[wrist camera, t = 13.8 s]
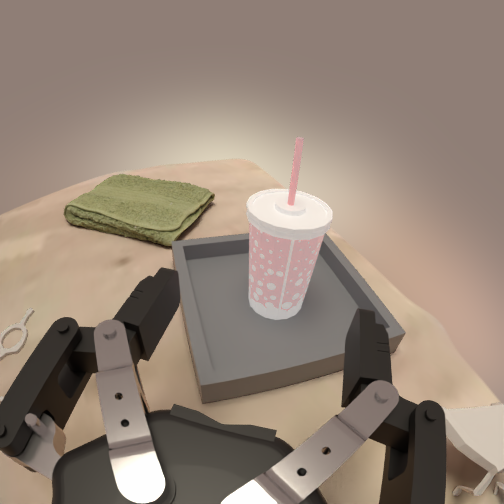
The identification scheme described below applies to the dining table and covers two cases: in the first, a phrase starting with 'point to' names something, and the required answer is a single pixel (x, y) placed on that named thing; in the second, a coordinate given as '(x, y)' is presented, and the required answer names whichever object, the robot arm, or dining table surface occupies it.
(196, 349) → the grey tray
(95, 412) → the dining table surface
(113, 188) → the washcloth
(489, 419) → the origami figure
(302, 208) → the beverage cup
